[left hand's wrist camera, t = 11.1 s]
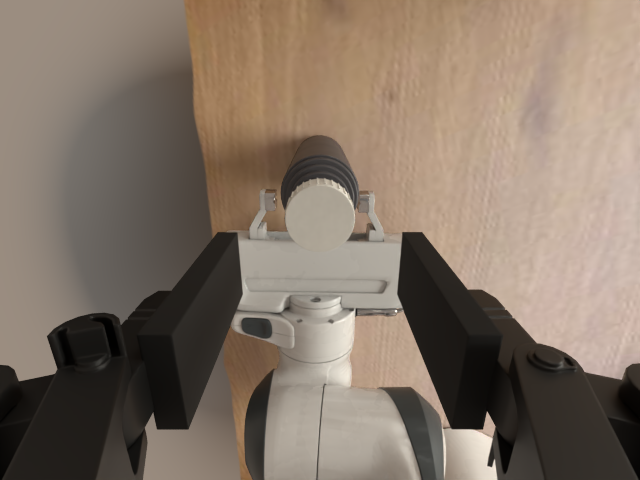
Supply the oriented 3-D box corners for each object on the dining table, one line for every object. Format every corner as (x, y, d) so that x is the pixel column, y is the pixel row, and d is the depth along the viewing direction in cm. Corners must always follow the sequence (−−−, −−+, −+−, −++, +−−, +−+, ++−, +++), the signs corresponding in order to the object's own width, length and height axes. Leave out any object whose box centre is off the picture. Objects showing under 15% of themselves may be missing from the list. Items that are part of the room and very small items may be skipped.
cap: (296, 247, 22) (294, 259, 20) (278, 186, 21) (275, 193, 19) (359, 233, 22) (362, 244, 20) (345, 170, 20) (347, 176, 19)
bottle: (302, 190, 41) (285, 271, 21) (289, 142, 39) (258, 181, 19) (349, 179, 40) (377, 251, 21) (338, 129, 38) (358, 157, 19)
